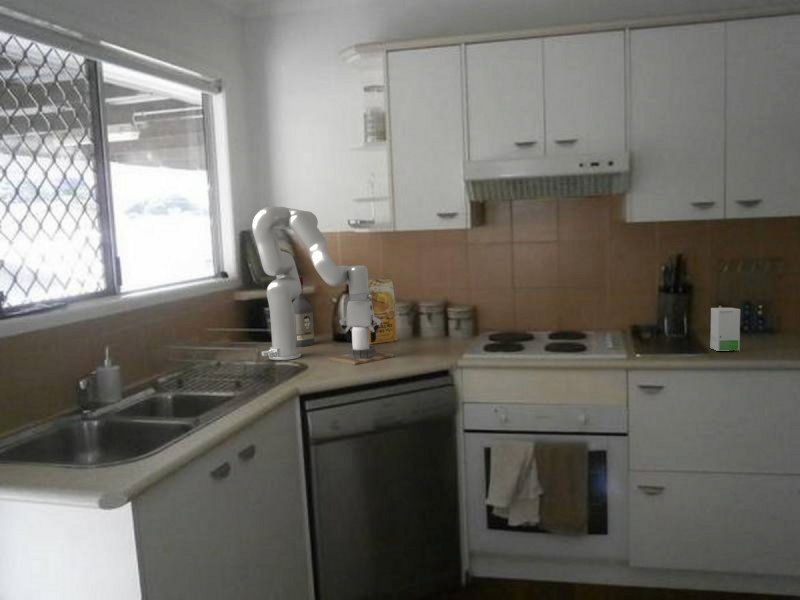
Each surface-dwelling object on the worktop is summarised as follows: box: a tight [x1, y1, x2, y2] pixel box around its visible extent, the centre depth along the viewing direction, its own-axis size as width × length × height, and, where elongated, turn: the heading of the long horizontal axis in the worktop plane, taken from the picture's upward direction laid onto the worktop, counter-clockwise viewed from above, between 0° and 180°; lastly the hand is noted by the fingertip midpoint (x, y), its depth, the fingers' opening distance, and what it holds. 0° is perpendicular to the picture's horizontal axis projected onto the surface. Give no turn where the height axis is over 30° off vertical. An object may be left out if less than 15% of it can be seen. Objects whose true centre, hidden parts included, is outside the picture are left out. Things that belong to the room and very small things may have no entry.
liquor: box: [292, 276, 315, 348], centre depth 298 cm, size 9×9×30 cm
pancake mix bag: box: [368, 277, 398, 345], centre depth 296 cm, size 7×19×28 cm, turn 116°
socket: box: [328, 345, 396, 366], centre depth 264 cm, size 20×16×4 cm
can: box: [351, 326, 370, 350], centre depth 263 cm, size 6×6×12 cm
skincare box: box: [709, 307, 741, 352], centre depth 248 cm, size 8×7×16 cm
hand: (361, 341), depth 263 cm, fingers open, 9 cm apart
